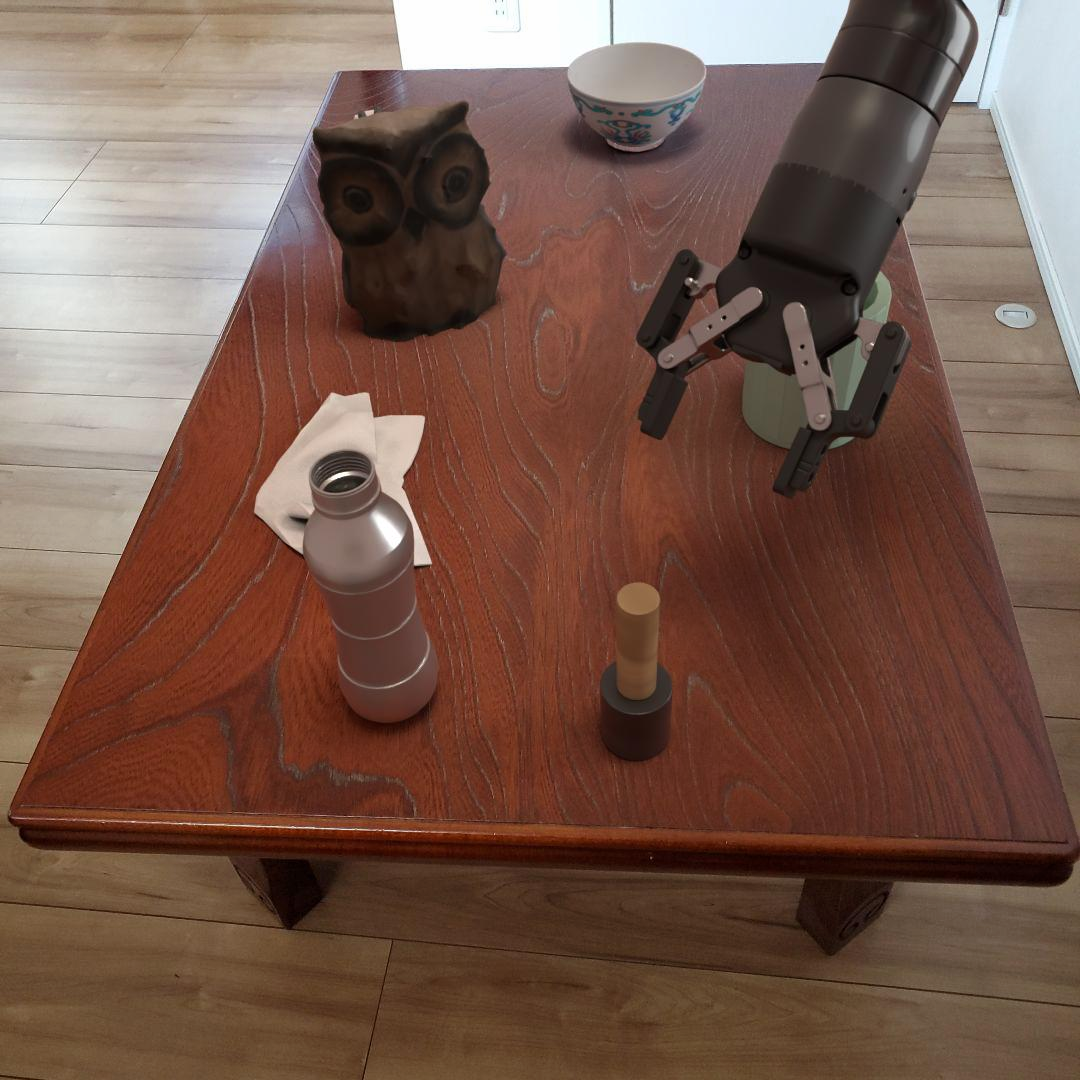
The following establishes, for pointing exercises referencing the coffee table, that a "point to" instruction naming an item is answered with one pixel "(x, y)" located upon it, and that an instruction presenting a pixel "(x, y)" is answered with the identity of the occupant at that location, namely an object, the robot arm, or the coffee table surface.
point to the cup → (778, 397)
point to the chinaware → (636, 90)
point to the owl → (410, 219)
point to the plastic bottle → (369, 588)
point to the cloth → (335, 429)
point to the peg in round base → (636, 680)
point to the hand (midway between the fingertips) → (714, 465)
